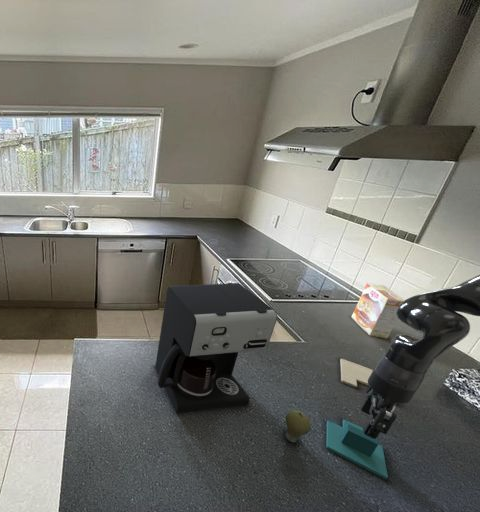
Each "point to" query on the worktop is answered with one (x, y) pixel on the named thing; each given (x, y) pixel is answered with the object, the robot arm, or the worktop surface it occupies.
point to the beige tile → (354, 373)
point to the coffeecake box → (377, 310)
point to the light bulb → (296, 425)
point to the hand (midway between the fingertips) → (367, 423)
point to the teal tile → (353, 454)
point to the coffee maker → (209, 343)
